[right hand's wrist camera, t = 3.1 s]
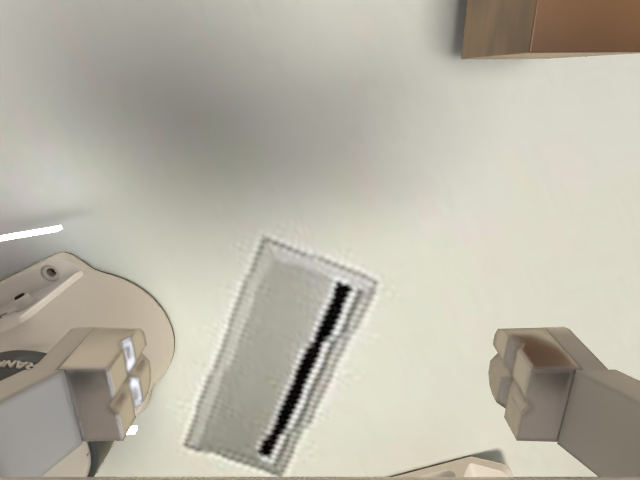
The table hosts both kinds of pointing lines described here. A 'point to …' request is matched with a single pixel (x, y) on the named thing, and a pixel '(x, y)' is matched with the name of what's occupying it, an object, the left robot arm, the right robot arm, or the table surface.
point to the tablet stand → (464, 469)
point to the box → (550, 28)
